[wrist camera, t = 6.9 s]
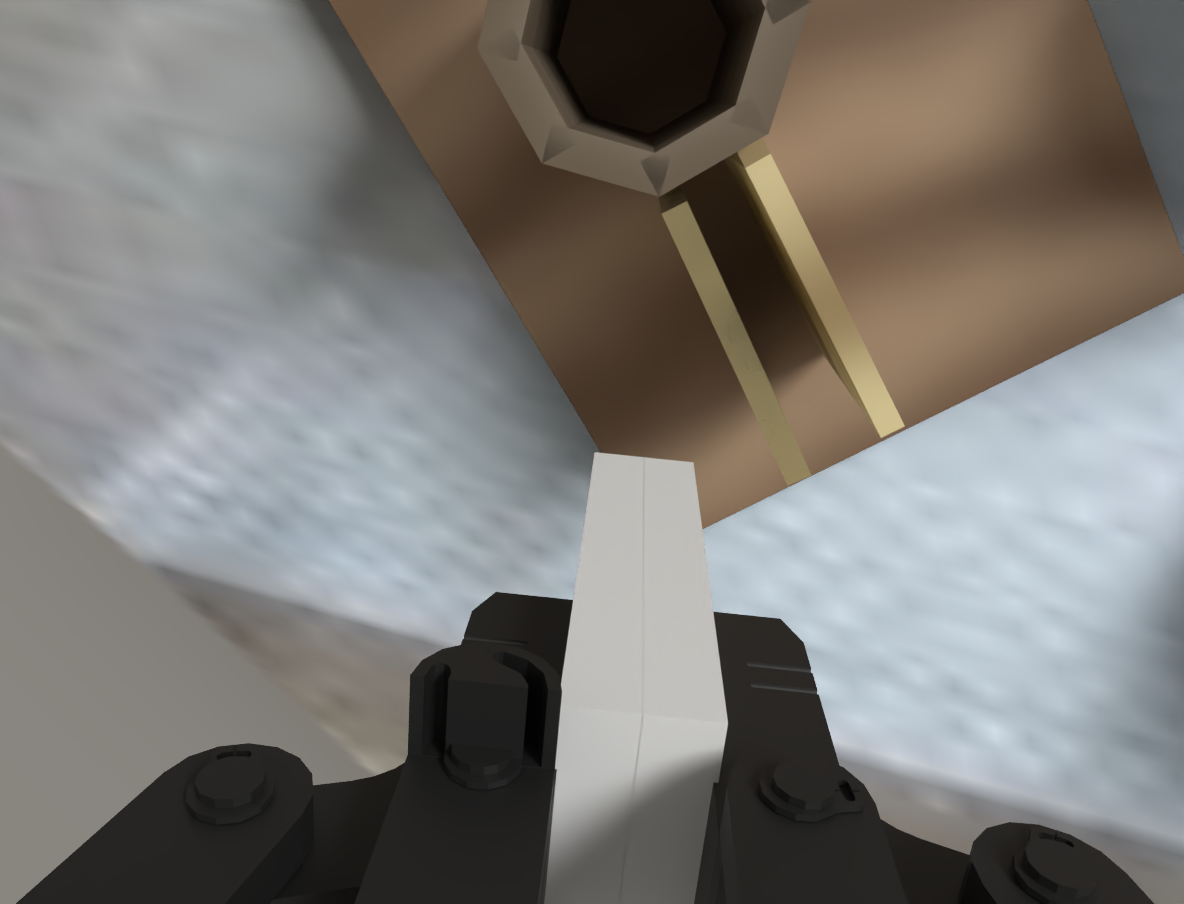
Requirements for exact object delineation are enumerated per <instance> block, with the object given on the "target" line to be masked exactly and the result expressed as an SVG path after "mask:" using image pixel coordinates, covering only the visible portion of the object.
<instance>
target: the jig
mask: <svg viewBox="0 0 1184 904" xmlns="http://www.w3.org/2000/svg"><path fill="white" fill-rule="evenodd" d="M329 2H330V4H331V5H332V7H333V9H334V10H335V12H336V14H337V15H338V17H339V19H340V20H341V22H342V24H343V25H344V27H345V29H346V30H347V32H348V34H349V35H350V37H351V39H352V40H353V42H354V44H355V45H356V47H357V48H358V50H359V52H360V53H361V55H362V57H363V58H364V60H365V62H366V63H367V65H368V67H369V68H370V70H371V72H372V73H373V75H374V77H375V78H376V80H377V82H378V83H379V85H380V87H381V88H382V90H383V92H384V93H385V95H386V97H387V98H388V100H389V102H390V103H391V105H392V107H393V108H394V110H395V112H396V113H397V115H398V116H399V118H400V120H401V121H402V123H403V125H404V126H405V128H406V130H407V131H408V133H409V135H410V136H411V138H412V140H413V141H414V143H415V145H416V146H417V148H418V150H419V151H420V153H421V155H422V156H423V158H424V160H425V161H426V163H427V165H428V166H429V168H430V170H431V171H432V173H433V175H434V176H435V178H436V179H437V181H438V183H439V184H440V186H441V188H442V189H443V191H444V193H445V194H446V196H447V198H448V199H449V201H450V203H451V204H452V206H453V208H454V209H455V211H456V213H457V214H458V216H459V218H460V219H461V221H462V223H463V224H464V226H465V228H466V229H467V231H468V233H469V234H470V236H471V238H472V239H473V241H474V243H475V244H476V246H477V247H478V249H479V251H480V252H481V254H482V256H483V257H484V259H485V261H486V262H487V264H488V266H489V267H490V269H491V271H492V272H493V274H494V276H495V277H496V279H497V281H498V282H499V284H500V286H501V287H502V289H503V291H504V292H505V294H506V296H507V297H508V299H509V301H510V302H511V304H512V306H513V307H514V309H515V310H516V312H517V314H518V315H519V317H520V319H521V320H522V322H523V324H524V325H525V327H526V329H527V330H528V332H529V334H530V335H531V337H532V339H533V340H534V342H535V344H536V345H537V347H538V349H539V350H540V352H541V354H542V355H543V357H544V359H545V360H546V362H547V364H548V365H549V367H550V369H551V370H552V372H553V374H554V375H555V377H556V378H557V380H558V382H559V383H560V385H561V387H562V388H563V390H564V392H565V393H566V395H567V397H568V398H569V400H570V402H571V403H572V405H573V407H574V408H575V410H576V412H577V413H578V415H579V417H580V418H581V420H582V422H583V423H584V425H585V427H586V428H587V430H588V432H589V433H590V435H591V437H592V438H593V440H594V441H595V443H596V445H597V446H598V448H599V450H600V451H601V453H607V454H617V455H627V456H636V457H646V458H656V459H666V460H675V461H685V462H693V463H694V470H695V478H696V485H697V493H698V500H699V508H700V515H701V523H702V529H704V528H706V527H708V526H710V525H712V524H714V523H716V522H718V521H720V520H722V519H724V518H726V517H728V516H730V515H732V514H734V513H736V512H738V511H741V510H743V509H745V508H747V507H749V506H751V505H753V504H755V503H757V502H759V501H761V500H763V499H765V498H767V497H769V496H771V495H773V494H775V493H777V492H779V491H781V490H783V489H785V488H787V487H789V486H791V485H794V484H796V483H798V482H800V481H802V480H804V479H802V480H800V481H798V482H795V483H793V484H791V485H787V483H786V481H785V479H784V476H783V474H782V472H781V470H780V468H779V466H778V464H777V461H776V459H775V457H774V455H773V453H772V451H771V449H770V446H769V444H768V442H767V440H766V438H765V436H764V433H763V431H762V429H761V427H760V425H759V423H758V421H757V418H756V416H755V414H754V412H753V410H752V408H751V405H750V403H749V401H748V399H747V397H746V395H745V393H744V390H743V388H742V386H741V384H740V382H739V380H738V377H737V375H736V373H735V371H734V369H733V367H732V365H731V362H730V360H729V358H728V356H727V354H726V352H725V350H724V347H723V345H722V343H721V341H720V339H719V337H718V334H717V332H716V330H715V328H714V326H713V324H712V322H711V319H710V317H709V315H708V313H707V311H706V309H705V306H704V304H703V302H702V300H701V298H700V296H699V294H698V291H697V289H696V287H695V285H694V283H693V281H692V279H691V276H690V274H689V272H688V270H687V268H686V266H685V263H684V261H683V259H682V257H681V255H680V253H679V251H678V248H677V246H676V244H675V242H674V240H673V238H672V235H671V233H670V231H669V229H668V227H667V225H666V223H665V220H664V218H663V216H662V214H661V208H660V203H659V197H660V196H661V195H663V194H665V193H667V192H668V191H670V190H672V189H674V188H675V187H677V186H679V185H681V187H682V189H683V192H684V194H685V196H686V198H687V200H688V203H689V205H690V207H691V209H692V211H693V214H694V216H695V218H696V220H697V222H698V225H699V227H700V229H701V231H702V233H703V236H704V238H705V240H706V242H707V244H708V247H709V249H710V251H711V253H712V255H713V258H714V260H715V262H716V264H717V266H718V269H719V271H720V273H721V275H722V277H723V280H724V282H725V284H726V286H727V288H728V291H729V293H730V295H731V297H732V299H733V302H734V304H735V306H736V308H737V310H738V313H739V315H740V317H741V319H742V321H743V324H744V326H745V328H746V330H747V333H748V335H749V337H750V339H751V341H752V344H753V346H754V348H755V350H756V352H757V355H758V357H759V359H760V361H761V363H762V366H763V368H764V370H765V372H766V374H767V377H768V379H769V381H770V383H771V385H772V388H773V390H774V392H775V394H776V397H777V399H778V401H779V403H780V406H781V408H782V410H783V412H784V415H785V417H786V419H787V421H788V424H789V426H790V428H791V430H792V433H793V435H794V437H795V439H796V442H797V444H798V446H799V448H800V451H801V453H802V455H803V457H804V460H805V462H806V464H807V466H808V469H809V471H810V473H811V475H814V474H816V473H818V472H820V471H822V470H824V469H826V468H828V467H830V466H832V465H834V464H836V463H838V462H840V461H842V460H844V459H846V458H849V457H851V456H853V455H855V454H857V453H859V452H861V451H863V450H865V449H867V448H869V447H871V446H873V445H875V444H877V443H879V442H881V441H883V440H885V439H887V438H889V437H891V436H893V435H895V434H897V433H899V432H902V431H904V430H906V429H908V428H910V427H912V426H914V425H916V424H918V423H920V422H922V421H924V420H926V419H928V418H930V417H932V416H934V415H936V414H938V413H940V412H942V411H944V410H946V409H948V408H950V407H952V406H954V405H957V404H959V403H961V402H963V401H965V400H967V399H969V398H971V397H973V396H975V395H977V394H979V393H981V392H983V391H985V390H987V389H989V388H991V387H993V386H995V385H997V384H999V383H1001V382H1003V381H1005V380H1007V379H1010V378H1012V377H1014V376H1016V375H1018V374H1020V373H1022V372H1024V371H1026V370H1028V369H1030V368H1032V367H1034V366H1036V365H1038V364H1040V363H1042V362H1044V361H1046V360H1048V359H1050V358H1052V357H1054V356H1056V355H1058V354H1060V353H1062V352H1065V351H1067V350H1069V349H1071V348H1073V347H1075V346H1077V345H1079V344H1081V343H1083V342H1085V341H1087V340H1089V339H1091V338H1093V337H1095V336H1097V335H1099V334H1101V333H1103V332H1105V331H1107V330H1109V329H1111V328H1113V327H1115V326H1118V325H1120V324H1122V323H1124V322H1126V321H1128V320H1130V319H1132V318H1134V317H1136V316H1138V315H1140V314H1142V313H1144V312H1146V311H1148V310H1150V309H1152V308H1154V307H1156V306H1158V305H1160V304H1162V303H1164V302H1166V301H1168V300H1170V299H1173V298H1175V297H1177V296H1179V295H1181V294H1183V293H1184V257H1183V254H1182V251H1181V249H1180V246H1179V243H1178V241H1177V238H1176V235H1175V233H1174V230H1173V227H1172V225H1171V222H1170V219H1169V217H1168V214H1167V211H1166V209H1165V206H1164V203H1163V201H1162V198H1161V195H1160V193H1159V190H1158V187H1157V185H1156V182H1155V179H1154V177H1153V174H1152V171H1151V169H1150V166H1149V163H1148V161H1147V158H1146V155H1145V153H1144V150H1143V147H1142V145H1141V142H1140V139H1139V137H1138V134H1137V131H1136V129H1135V126H1134V123H1133V121H1132V118H1131V115H1130V113H1129V110H1128V107H1127V105H1126V102H1125V99H1124V97H1123V94H1122V91H1121V89H1120V86H1119V83H1118V81H1117V78H1116V75H1115V72H1114V70H1113V67H1112V64H1111V62H1110V59H1109V56H1108V54H1107V51H1106V48H1105V46H1104V43H1103V40H1102V38H1101V35H1100V32H1099V30H1098V27H1097V24H1096V22H1095V19H1094V16H1093V14H1092V11H1091V8H1090V6H1089V3H1088V0H329ZM809 477H810V476H809ZM807 478H808V477H807ZM805 479H806V478H805Z"/></svg>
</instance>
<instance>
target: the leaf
mask: <svg viewBox="0 0 1184 904" xmlns="http://www.w3.org/2000/svg"><path fill="white" fill-rule="evenodd" d="M659 203H660V208H661V214H662V216H663V218H664V220H665V223H666V225H667V227H668V229H669V231H670V233H671V235H672V238H673V240H674V242H675V244H676V246H677V248H678V251H679V253H680V255H681V257H682V259H683V261H684V263H685V266H686V268H687V270H688V272H689V274H690V276H691V279H692V281H693V283H694V285H695V287H696V289H697V291H698V294H699V296H700V298H701V300H702V302H703V304H704V306H705V309H706V311H707V313H708V315H709V317H710V319H711V322H712V324H713V326H714V328H715V330H716V332H717V334H718V337H719V339H720V341H721V343H722V345H723V347H724V350H725V352H726V354H727V356H728V358H729V360H730V362H731V365H732V367H733V369H734V371H735V373H736V375H737V377H738V380H739V382H740V384H741V386H742V388H743V390H744V393H745V395H746V397H747V399H748V401H749V403H750V405H751V408H752V410H753V412H754V414H755V416H756V418H757V421H758V423H759V425H760V427H761V429H762V431H763V433H764V436H765V438H766V440H767V442H768V444H769V446H770V449H771V451H772V453H773V455H774V457H775V459H776V461H777V464H778V466H779V468H780V470H781V472H782V474H783V476H784V479H785V481H786V483H787V485H791V484H793V483H795V482H798V481H800V480H802V479H805V478H807V477H809V476H812V475H811V473H810V471H809V469H808V466H807V464H806V462H805V460H804V457H803V455H802V453H801V451H800V448H799V446H798V444H797V442H796V439H795V437H794V435H793V433H792V430H791V428H790V426H789V424H788V421H787V419H786V417H785V415H784V412H783V410H782V408H781V406H780V403H779V401H778V399H777V397H776V394H775V392H774V390H773V388H772V385H771V383H770V381H769V379H768V377H767V374H766V372H765V370H764V368H763V366H762V363H761V361H760V359H759V357H758V355H757V352H756V350H755V348H754V346H753V344H752V341H751V339H750V337H749V335H748V333H747V330H746V328H745V326H744V324H743V321H742V319H741V317H740V315H739V313H738V310H737V308H736V306H735V304H734V302H733V299H732V297H731V295H730V293H729V291H728V288H727V286H726V284H725V282H724V280H723V277H722V275H721V273H720V271H719V269H718V266H717V264H716V262H715V260H714V258H713V255H712V253H711V251H710V249H709V247H708V244H707V242H706V240H705V238H704V236H703V233H702V231H701V229H700V227H699V225H698V222H697V220H696V218H695V216H694V214H693V211H692V209H691V207H690V205H689V203H688V200H687V198H686V196H685V194H684V192H683V189H682V187H681V185H679V186H677V187H675V188H674V189H672V190H670V191H668V192H667V193H665V194H663V195H661V196H660V197H659Z"/></svg>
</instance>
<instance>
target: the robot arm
mask: <svg viewBox="0 0 1184 904" xmlns="http://www.w3.org/2000/svg"><path fill="white" fill-rule="evenodd" d="M16 904H1154V903H1153V902H1152V901H1151V900H1150V899H1149V898H1148V896H1147V895H1146V894H1145V893H1144V892H1143V891H1142V890H1141V889H1140V888H1139V887H1138V886H1137V884H1136V883H1135V882H1134V881H1133V880H1132V879H1131V878H1130V877H1129V876H1128V875H1127V874H1126V873H1125V872H1124V871H1123V870H1122V869H1121V868H1119V867H1118V866H1117V865H1116V864H1115V863H1114V862H1112V861H1111V860H1110V859H1109V858H1108V857H1107V856H1105V855H1104V854H1103V853H1102V852H1101V851H1099V850H1097V849H1095V848H1093V847H1091V846H1090V845H1088V844H1086V843H1084V842H1082V841H1081V840H1079V839H1077V838H1075V837H1073V836H1072V835H1069V834H1066V833H1063V832H1060V831H1057V830H1054V829H1050V828H1047V827H1044V826H1041V825H1036V824H1023V823H1011V822H1009V823H1005V824H1001V825H997V826H993V827H989V828H986V829H985V830H984V831H983V832H982V833H981V834H980V836H979V837H978V838H977V839H976V840H975V841H974V842H973V845H972V849H971V852H970V855H967V854H964V853H961V852H958V851H955V850H952V849H949V848H946V847H943V846H940V845H937V844H934V843H931V842H928V841H925V840H922V839H920V838H917V837H915V836H913V835H910V834H908V833H905V832H903V831H900V830H898V829H896V828H895V827H893V826H891V825H890V824H888V823H886V822H885V821H883V820H881V819H880V816H879V813H878V810H877V807H876V804H875V802H874V801H873V799H872V797H871V796H870V794H869V792H868V791H867V789H866V787H865V786H864V784H863V783H861V782H860V781H859V780H858V779H857V778H855V777H854V776H853V775H852V774H851V773H849V772H848V771H847V770H846V769H845V768H843V767H841V766H839V763H838V759H837V756H836V753H835V749H834V746H833V742H832V739H831V735H830V732H829V729H828V725H827V722H826V718H825V715H824V711H823V708H822V705H821V701H820V698H819V695H817V687H816V684H815V681H814V677H813V674H812V673H811V667H810V663H809V660H808V656H807V653H806V650H805V646H804V643H803V642H802V641H801V640H800V639H799V638H798V637H797V635H796V634H795V633H794V632H793V631H792V630H791V629H790V628H789V627H788V626H787V625H786V624H785V623H784V622H783V621H782V620H781V619H777V618H767V617H757V616H748V615H738V614H729V613H719V612H713V606H712V598H711V591H710V583H709V576H708V568H707V561H706V553H705V546H704V538H703V530H702V523H701V515H700V508H699V500H698V493H697V485H696V478H695V470H694V463H693V462H685V461H675V460H666V459H656V458H646V457H636V456H627V455H617V454H607V453H597V452H595V453H594V460H593V466H592V473H591V480H590V487H589V494H588V501H587V508H586V515H585V522H584V529H583V536H582V543H581V549H580V556H579V563H578V570H577V577H576V584H575V591H574V598H573V600H567V599H557V598H548V597H538V596H529V595H519V594H510V593H500V592H495V593H494V594H493V595H492V596H490V597H489V598H488V599H487V600H485V601H484V602H483V603H482V604H480V605H479V606H478V607H477V608H475V609H474V610H473V611H472V614H471V617H470V620H469V622H468V625H467V628H466V631H465V634H464V639H463V640H462V643H461V645H459V646H454V647H450V648H445V649H442V650H440V651H438V652H436V653H435V654H433V655H431V656H429V657H427V658H425V659H423V660H422V661H421V662H420V664H419V665H418V666H417V667H416V669H415V670H414V671H413V672H412V674H411V675H410V703H409V735H408V756H407V758H406V761H405V763H403V764H402V765H400V766H398V767H397V768H395V769H393V770H390V771H387V772H385V773H382V774H379V775H377V776H374V777H369V778H364V779H359V780H354V781H347V782H339V783H331V784H322V785H313V783H312V773H311V772H310V771H309V769H308V768H307V767H306V766H305V764H304V763H303V762H302V761H301V759H300V758H299V757H297V756H295V755H292V754H290V753H288V752H286V751H284V750H282V749H280V748H278V747H271V746H264V745H257V744H239V745H230V746H220V747H216V748H213V749H210V750H207V751H204V752H201V753H198V754H195V755H192V756H189V757H187V758H186V759H184V760H183V761H181V762H180V763H179V764H177V765H175V766H174V767H172V768H171V769H169V770H167V771H166V772H164V773H163V774H162V775H161V776H160V777H158V778H157V779H156V780H155V781H154V782H153V783H152V784H151V785H150V786H148V787H147V788H146V789H145V790H144V791H143V792H141V793H140V794H139V795H138V796H137V797H136V798H135V799H134V800H132V801H131V802H130V803H129V804H128V805H127V806H126V807H125V808H123V809H122V810H121V811H120V812H119V813H118V814H117V815H115V816H114V817H113V818H112V819H111V820H110V821H109V822H108V823H106V824H105V825H104V826H103V827H102V828H101V829H100V830H99V831H97V832H96V833H95V834H94V835H93V836H92V837H91V838H89V840H87V841H86V842H85V843H84V844H83V845H82V846H81V847H79V848H78V849H77V850H76V851H75V852H74V853H72V854H71V855H70V856H69V857H68V858H67V859H66V860H65V861H63V862H62V863H61V864H60V865H59V866H58V867H57V868H56V869H54V870H53V871H52V872H51V873H50V874H49V875H48V876H46V877H45V878H44V879H43V880H42V881H41V882H40V883H39V884H38V885H36V886H35V887H34V888H33V889H32V890H31V891H30V892H29V893H27V894H26V895H25V896H24V897H23V898H22V899H21V900H19V901H18V902H17V903H16Z"/></svg>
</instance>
